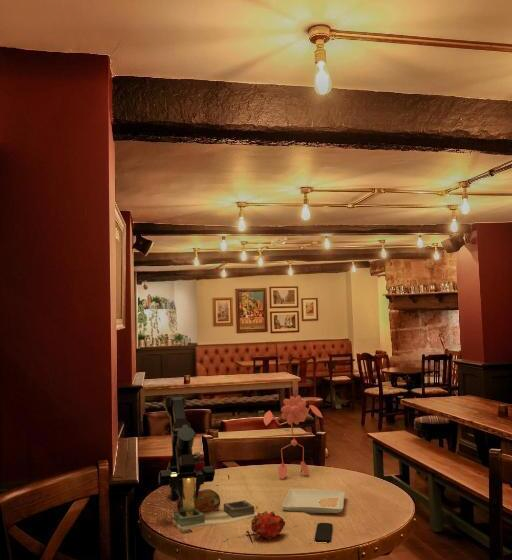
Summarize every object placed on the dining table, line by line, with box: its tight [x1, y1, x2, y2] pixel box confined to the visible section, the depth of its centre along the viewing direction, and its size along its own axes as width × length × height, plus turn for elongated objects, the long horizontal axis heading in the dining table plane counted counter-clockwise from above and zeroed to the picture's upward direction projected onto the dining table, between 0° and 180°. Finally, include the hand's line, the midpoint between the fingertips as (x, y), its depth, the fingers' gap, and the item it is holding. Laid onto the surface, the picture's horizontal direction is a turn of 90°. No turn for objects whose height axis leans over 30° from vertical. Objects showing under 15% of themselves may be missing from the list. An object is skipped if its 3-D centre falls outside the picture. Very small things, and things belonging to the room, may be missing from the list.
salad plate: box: [281, 488, 346, 514], centre depth 206 cm, size 21×21×3 cm
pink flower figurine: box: [263, 395, 323, 480], centre depth 243 cm, size 15×26×35 cm, turn 107°
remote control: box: [314, 522, 334, 544], centre depth 178 cm, size 5×2×15 cm
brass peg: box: [182, 476, 196, 517], centre depth 190 cm, size 4×4×14 cm
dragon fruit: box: [250, 510, 286, 541], centre depth 176 cm, size 8×8×12 cm
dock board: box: [171, 499, 258, 534], centre depth 193 cm, size 12×28×4 cm, turn 115°
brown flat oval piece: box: [176, 488, 221, 514], centre depth 199 cm, size 15×3×8 cm, turn 105°
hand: (189, 499), depth 189 cm, fingers open, 5 cm apart
